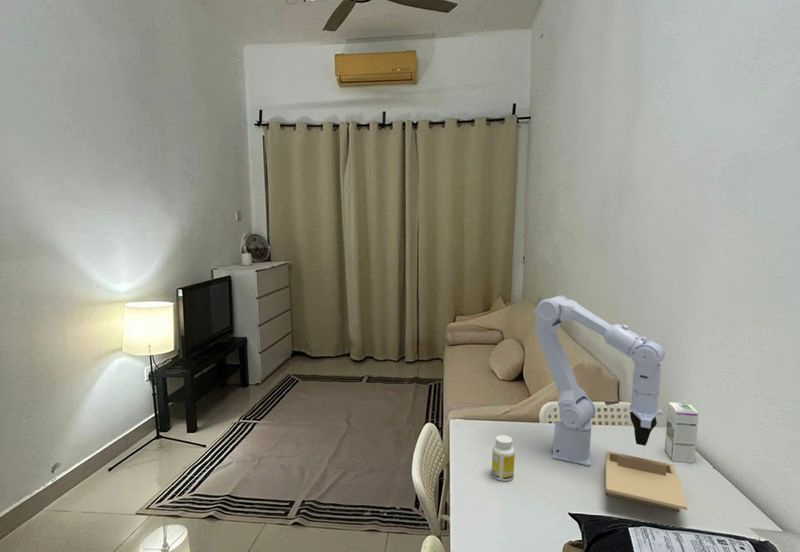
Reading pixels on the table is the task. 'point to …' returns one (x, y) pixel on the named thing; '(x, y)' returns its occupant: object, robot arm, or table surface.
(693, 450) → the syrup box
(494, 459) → the supplement bottle
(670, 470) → the box
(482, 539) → the table surface
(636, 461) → the lid
